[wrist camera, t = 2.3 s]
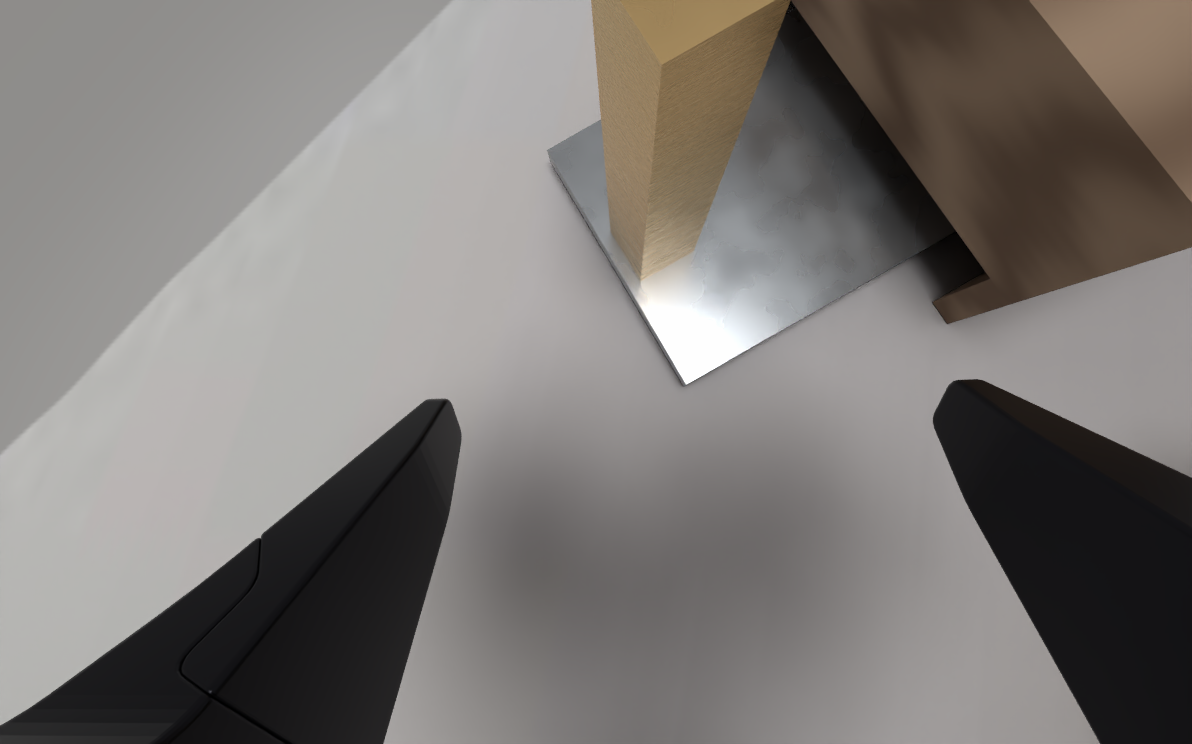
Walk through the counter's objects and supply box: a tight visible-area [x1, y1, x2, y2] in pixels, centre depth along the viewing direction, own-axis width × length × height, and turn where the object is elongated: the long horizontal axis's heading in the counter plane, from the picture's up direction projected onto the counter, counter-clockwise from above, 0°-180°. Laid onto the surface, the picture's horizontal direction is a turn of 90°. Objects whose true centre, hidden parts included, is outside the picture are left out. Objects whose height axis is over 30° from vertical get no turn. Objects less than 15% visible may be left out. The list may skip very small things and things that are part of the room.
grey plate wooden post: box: [547, 0, 956, 386], centre depth 16 cm, size 26×13×14 cm, turn 119°
